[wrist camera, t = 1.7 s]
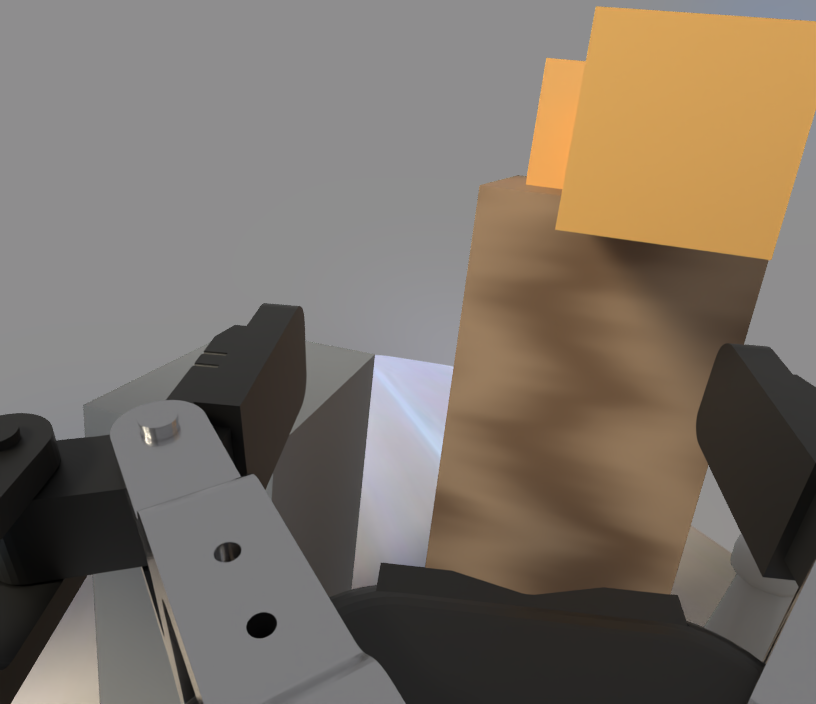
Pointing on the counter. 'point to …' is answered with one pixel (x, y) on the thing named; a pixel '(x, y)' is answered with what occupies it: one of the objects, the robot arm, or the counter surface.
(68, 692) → the counter surface
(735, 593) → the salt shaker
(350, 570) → the block
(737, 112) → the orange block
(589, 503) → the tall wooden block
